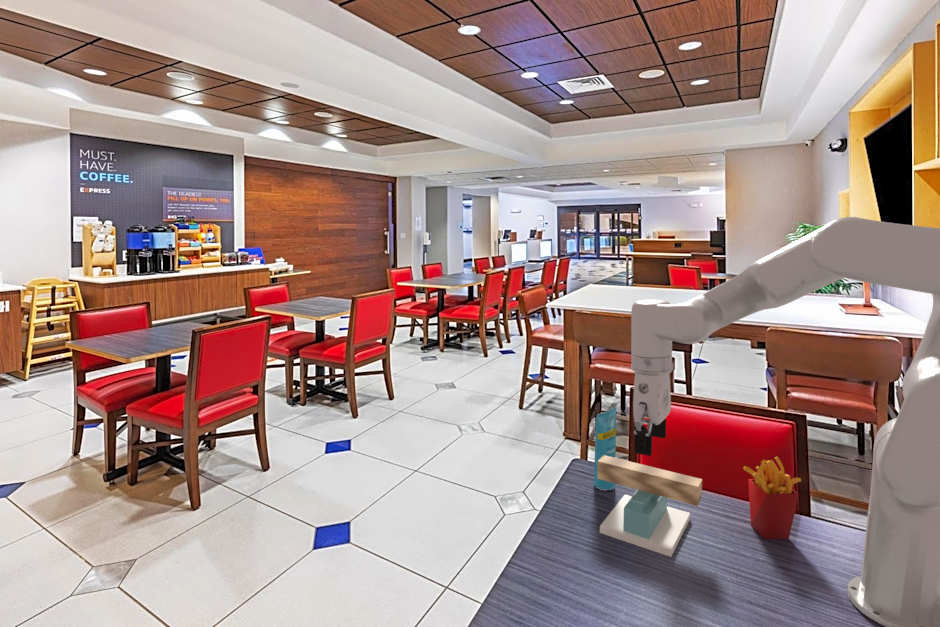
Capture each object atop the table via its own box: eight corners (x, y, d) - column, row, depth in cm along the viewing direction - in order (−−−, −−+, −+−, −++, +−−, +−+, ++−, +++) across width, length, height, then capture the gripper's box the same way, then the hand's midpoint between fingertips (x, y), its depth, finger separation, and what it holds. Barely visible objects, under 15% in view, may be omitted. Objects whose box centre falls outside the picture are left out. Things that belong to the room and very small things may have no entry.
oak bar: (701, 498, 99) (702, 479, 99) (697, 506, 96) (698, 486, 96) (603, 472, 111) (603, 454, 110) (597, 478, 108) (597, 461, 107)
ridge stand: (689, 519, 107) (691, 482, 106) (671, 557, 95) (672, 515, 94) (624, 500, 115) (625, 465, 114) (599, 532, 103) (600, 494, 102)
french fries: (796, 541, 99) (802, 469, 96) (754, 542, 99) (759, 470, 96) (770, 516, 107) (775, 449, 105) (731, 517, 107) (735, 450, 105)
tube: (605, 496, 117) (606, 417, 114) (587, 488, 121) (588, 412, 118) (621, 484, 122) (623, 408, 119) (603, 477, 126) (605, 404, 123)
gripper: (658, 375, 90) (657, 466, 93) (682, 355, 104) (681, 434, 107) (617, 370, 95) (617, 457, 97) (645, 351, 108) (645, 427, 111)
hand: (650, 445), depth 102 cm, fingers open, 9 cm apart
